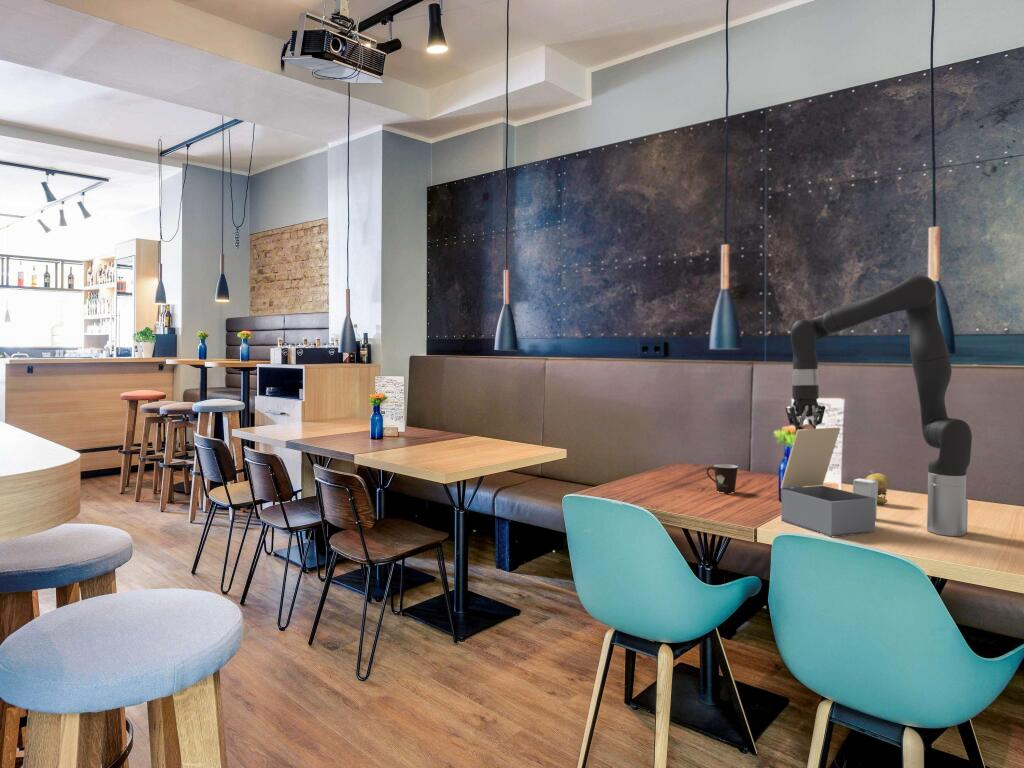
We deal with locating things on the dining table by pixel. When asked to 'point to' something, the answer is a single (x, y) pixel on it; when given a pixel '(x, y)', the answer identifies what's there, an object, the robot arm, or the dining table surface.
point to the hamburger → (879, 485)
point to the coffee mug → (724, 477)
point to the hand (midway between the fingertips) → (805, 438)
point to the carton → (828, 510)
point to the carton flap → (810, 456)
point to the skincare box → (866, 489)
